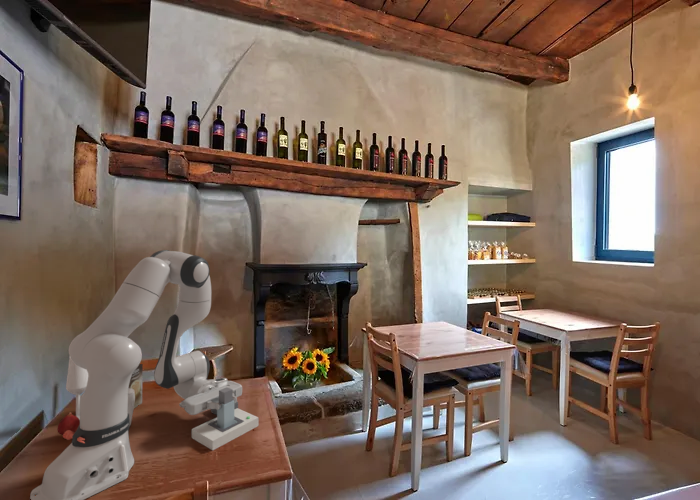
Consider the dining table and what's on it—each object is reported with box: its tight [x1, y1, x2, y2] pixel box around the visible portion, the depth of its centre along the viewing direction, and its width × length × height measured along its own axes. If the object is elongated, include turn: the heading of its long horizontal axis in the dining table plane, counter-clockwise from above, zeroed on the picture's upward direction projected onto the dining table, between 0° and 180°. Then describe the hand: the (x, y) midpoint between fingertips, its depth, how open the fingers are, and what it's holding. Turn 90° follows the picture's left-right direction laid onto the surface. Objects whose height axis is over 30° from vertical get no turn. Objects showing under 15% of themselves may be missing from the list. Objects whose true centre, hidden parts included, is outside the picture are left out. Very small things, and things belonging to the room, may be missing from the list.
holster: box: [210, 401, 239, 416], centre depth 131 cm, size 7×8×3 cm
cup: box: [128, 388, 135, 426], centre depth 119 cm, size 9×9×12 cm
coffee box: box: [128, 363, 144, 410], centre depth 133 cm, size 9×6×16 cm
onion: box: [57, 412, 80, 436], centre depth 113 cm, size 6×6×8 cm
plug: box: [216, 387, 234, 429], centre depth 116 cm, size 4×4×14 cm
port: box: [191, 407, 260, 451], centre depth 116 cm, size 18×12×3 cm, turn 145°
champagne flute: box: [65, 356, 88, 420], centre depth 123 cm, size 7×7×24 cm
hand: (227, 403), depth 116 cm, fingers open, 5 cm apart
